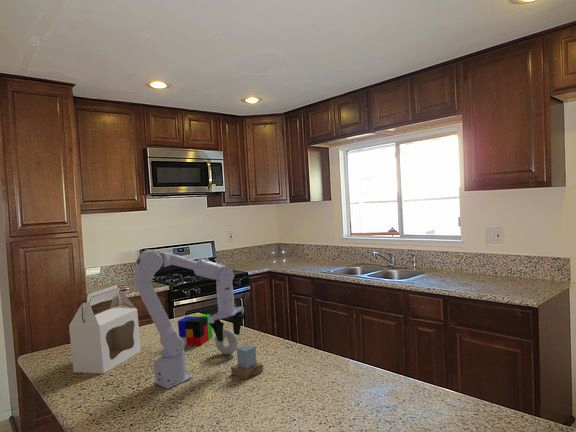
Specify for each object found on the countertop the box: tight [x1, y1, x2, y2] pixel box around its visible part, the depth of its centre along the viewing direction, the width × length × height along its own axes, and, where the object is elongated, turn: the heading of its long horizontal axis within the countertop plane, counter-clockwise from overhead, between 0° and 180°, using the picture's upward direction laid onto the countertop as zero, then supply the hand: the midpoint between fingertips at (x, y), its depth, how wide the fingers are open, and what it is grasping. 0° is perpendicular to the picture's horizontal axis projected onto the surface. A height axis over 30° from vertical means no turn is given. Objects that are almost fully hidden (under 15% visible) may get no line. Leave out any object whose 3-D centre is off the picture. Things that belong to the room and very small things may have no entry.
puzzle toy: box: [177, 313, 213, 346], centre depth 170 cm, size 10×10×10 cm
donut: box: [214, 327, 239, 356], centre depth 152 cm, size 10×4×10 cm, turn 61°
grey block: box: [235, 343, 257, 369], centre depth 134 cm, size 5×5×6 cm
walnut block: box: [230, 361, 264, 381], centre depth 135 cm, size 8×8×3 cm
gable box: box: [68, 284, 141, 375], centre depth 154 cm, size 22×13×28 cm, turn 165°
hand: (228, 337), depth 142 cm, fingers open, 7 cm apart
